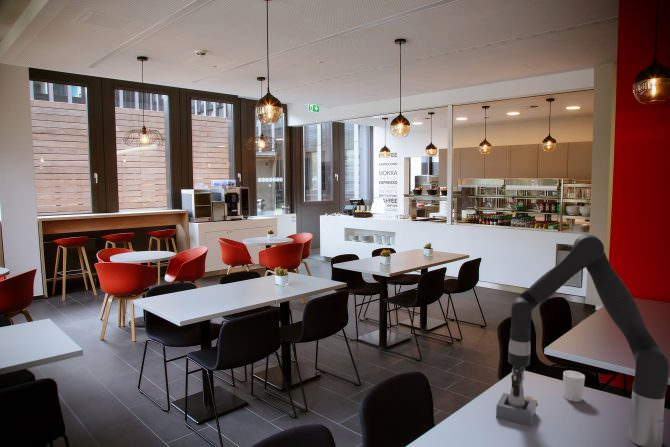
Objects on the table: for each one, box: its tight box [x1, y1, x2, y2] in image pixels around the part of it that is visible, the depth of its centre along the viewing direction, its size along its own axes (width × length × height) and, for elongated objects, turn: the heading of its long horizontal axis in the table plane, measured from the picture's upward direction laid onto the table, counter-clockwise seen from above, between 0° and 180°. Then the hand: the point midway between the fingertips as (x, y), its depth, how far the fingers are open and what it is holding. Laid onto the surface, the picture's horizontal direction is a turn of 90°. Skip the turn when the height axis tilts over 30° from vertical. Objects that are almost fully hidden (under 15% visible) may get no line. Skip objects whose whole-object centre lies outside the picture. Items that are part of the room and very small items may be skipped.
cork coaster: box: [524, 394, 538, 406], centre depth 190 cm, size 9×9×1 cm
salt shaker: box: [508, 375, 525, 409], centre depth 178 cm, size 6×6×13 cm
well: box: [495, 392, 537, 427], centre depth 178 cm, size 12×12×5 cm
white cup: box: [562, 370, 586, 403], centre depth 193 cm, size 8×8×10 cm
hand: (517, 395), depth 178 cm, fingers closed on salt shaker, 3 cm apart
